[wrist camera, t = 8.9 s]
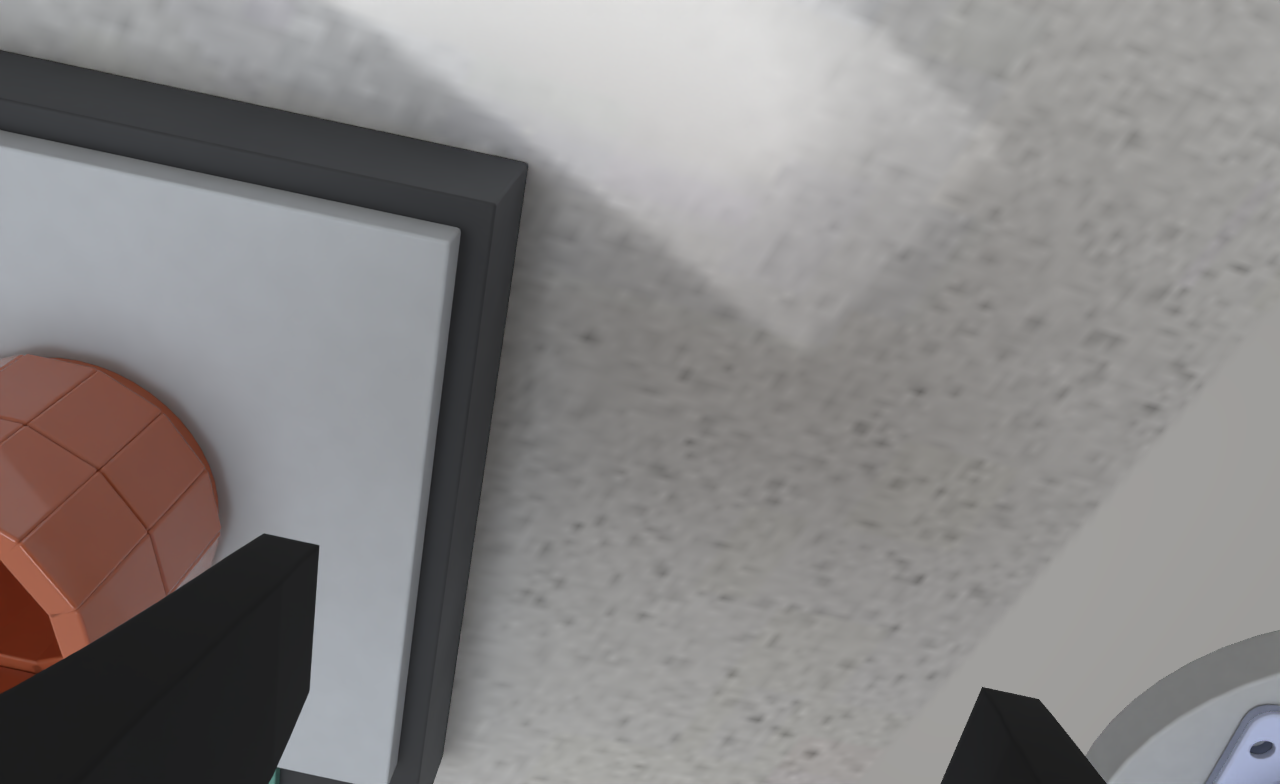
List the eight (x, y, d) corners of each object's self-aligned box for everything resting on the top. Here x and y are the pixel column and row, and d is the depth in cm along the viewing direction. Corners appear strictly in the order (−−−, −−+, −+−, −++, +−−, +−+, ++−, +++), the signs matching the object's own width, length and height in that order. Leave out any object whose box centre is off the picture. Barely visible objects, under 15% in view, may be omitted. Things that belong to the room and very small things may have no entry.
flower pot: (232, 630, 21) (105, 814, 17) (-49, 570, 21) (-244, 739, 17) (238, 381, 18) (91, 525, 14) (-79, 314, 18) (-316, 438, 14)
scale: (442, 757, 26) (399, 880, 23) (-76, 646, 27) (-191, 753, 23) (529, 162, 20) (485, 218, 17) (-162, 15, 20) (-340, 42, 17)
